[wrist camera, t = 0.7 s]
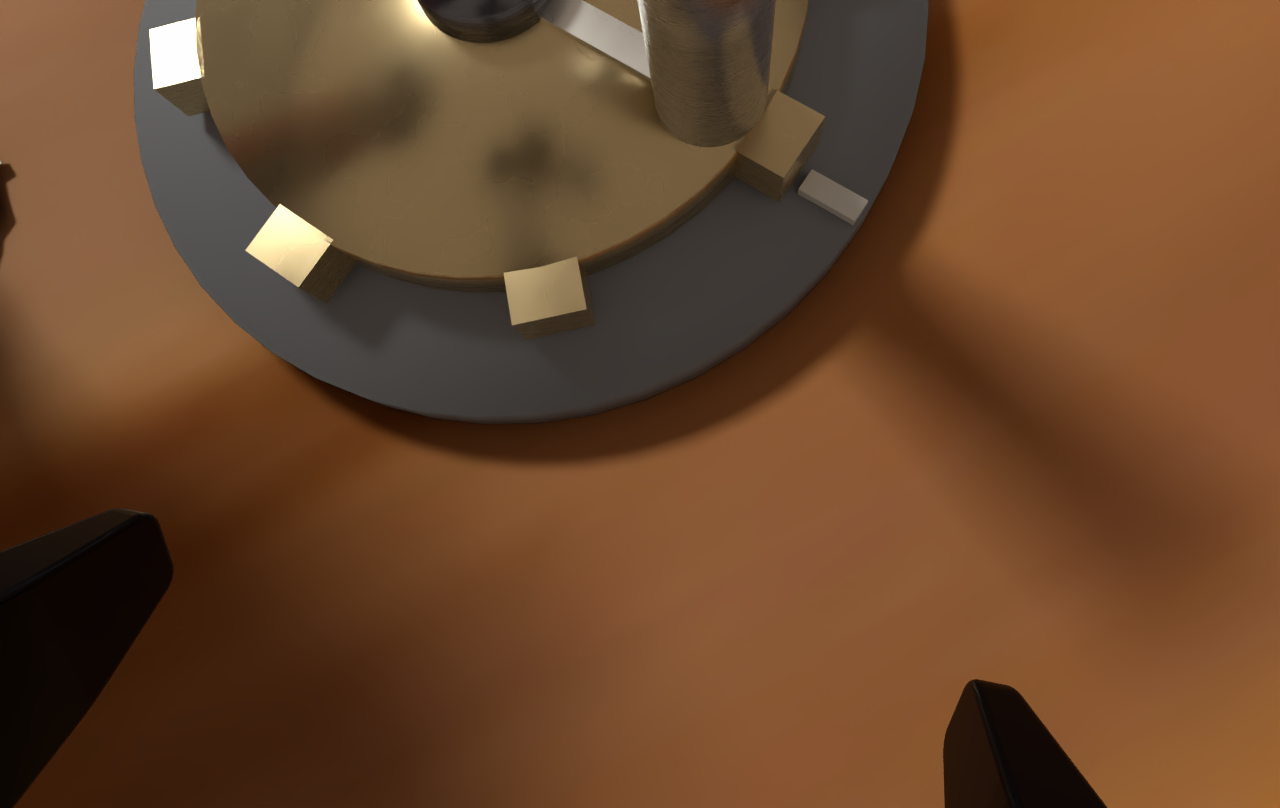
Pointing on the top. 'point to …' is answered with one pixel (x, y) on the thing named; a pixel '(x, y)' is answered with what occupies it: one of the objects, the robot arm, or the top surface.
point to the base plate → (621, 294)
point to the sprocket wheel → (490, 131)
